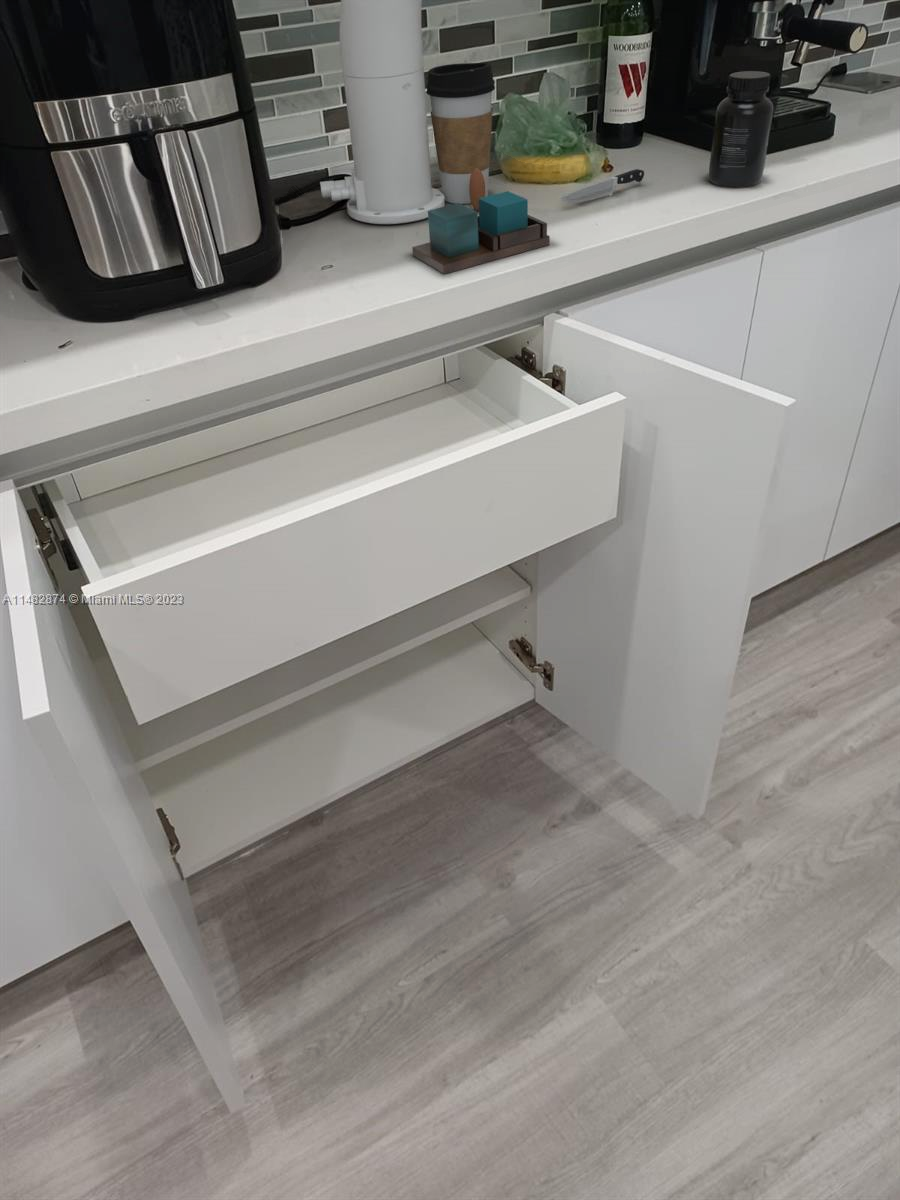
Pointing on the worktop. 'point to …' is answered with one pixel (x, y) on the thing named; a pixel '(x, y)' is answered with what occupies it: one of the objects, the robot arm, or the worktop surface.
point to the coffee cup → (461, 124)
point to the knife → (602, 187)
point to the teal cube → (502, 213)
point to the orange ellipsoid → (476, 187)
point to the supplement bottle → (741, 131)
